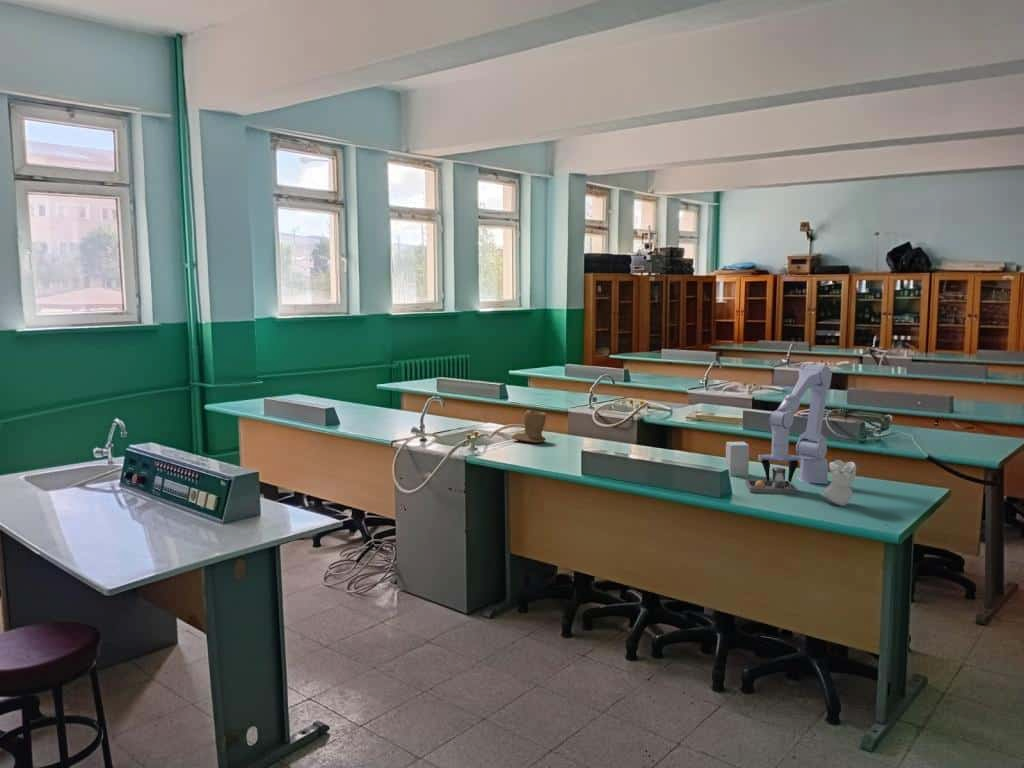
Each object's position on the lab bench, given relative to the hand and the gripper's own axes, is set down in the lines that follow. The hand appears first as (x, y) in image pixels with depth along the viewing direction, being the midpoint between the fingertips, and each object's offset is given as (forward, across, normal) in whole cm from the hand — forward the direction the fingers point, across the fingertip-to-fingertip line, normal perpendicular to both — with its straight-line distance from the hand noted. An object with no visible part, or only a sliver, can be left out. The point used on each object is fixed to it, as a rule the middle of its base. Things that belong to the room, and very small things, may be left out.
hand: (778, 480), depth 286 cm
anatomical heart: (+4, +17, -18) cm, 25 cm away
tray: (+3, -3, -1) cm, 5 cm away
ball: (+3, -7, -3) cm, 8 cm away
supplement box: (+4, -12, +21) cm, 24 cm away
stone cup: (+4, -100, +77) cm, 126 cm away
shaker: (+3, 0, 0) cm, 3 cm away
